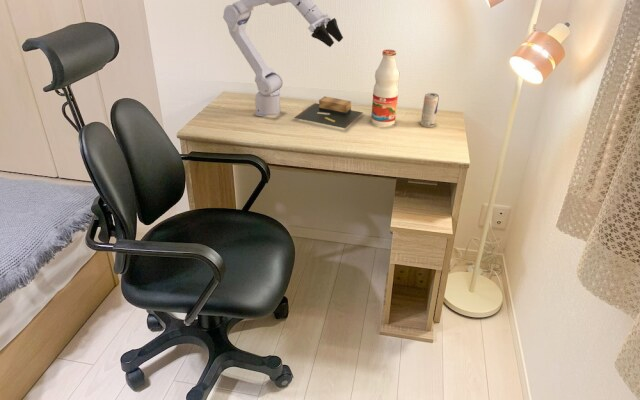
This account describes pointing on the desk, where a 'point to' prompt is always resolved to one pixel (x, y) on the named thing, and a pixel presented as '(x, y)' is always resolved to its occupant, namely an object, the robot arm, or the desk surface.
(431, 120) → the energy drink
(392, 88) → the strawberry milk bottle
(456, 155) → the desk surface
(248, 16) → the robot arm
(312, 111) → the slate board
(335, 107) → the eraser
